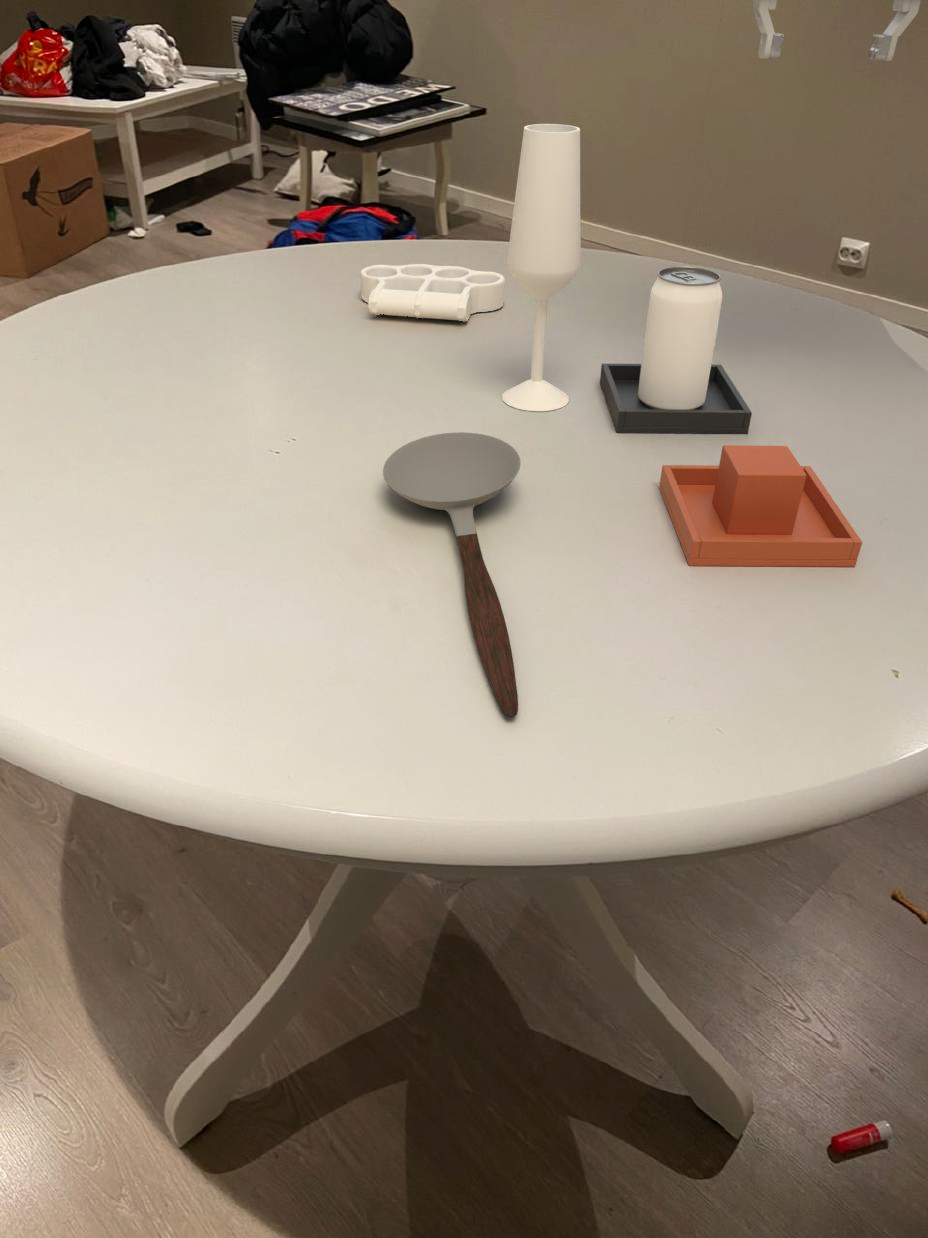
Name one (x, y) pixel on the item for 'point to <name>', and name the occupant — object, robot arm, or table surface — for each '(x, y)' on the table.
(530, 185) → the champagne flute
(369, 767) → the table surface
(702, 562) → the terracotta tray
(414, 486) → the spoon
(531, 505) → the table surface
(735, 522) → the block
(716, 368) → the charcoal tray
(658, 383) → the can
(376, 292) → the white brass knuckles
